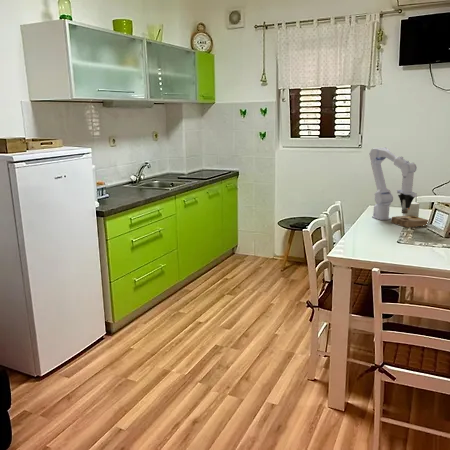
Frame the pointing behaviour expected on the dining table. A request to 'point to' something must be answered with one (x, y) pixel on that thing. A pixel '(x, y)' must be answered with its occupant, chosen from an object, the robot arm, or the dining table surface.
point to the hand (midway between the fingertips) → (405, 207)
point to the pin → (404, 207)
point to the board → (409, 221)
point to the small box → (413, 209)
